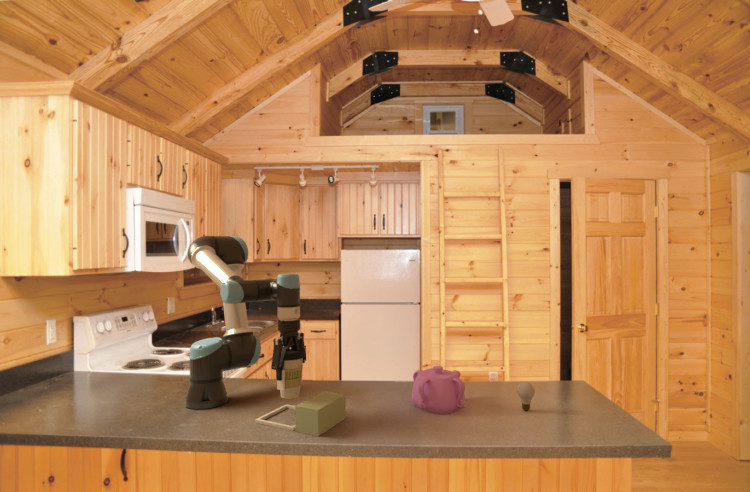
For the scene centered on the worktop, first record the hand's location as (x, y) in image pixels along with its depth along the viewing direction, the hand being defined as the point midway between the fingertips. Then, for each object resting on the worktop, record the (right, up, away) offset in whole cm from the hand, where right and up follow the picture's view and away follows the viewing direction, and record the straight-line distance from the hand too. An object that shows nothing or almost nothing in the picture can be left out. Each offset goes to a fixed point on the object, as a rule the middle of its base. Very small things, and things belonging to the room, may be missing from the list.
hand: (289, 385), depth 151 cm
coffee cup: (0, -4, 0) cm, 4 cm away
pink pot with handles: (+53, -11, +12) cm, 56 cm away
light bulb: (+82, -11, +6) cm, 83 cm away
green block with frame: (+4, -11, -2) cm, 12 cm away
